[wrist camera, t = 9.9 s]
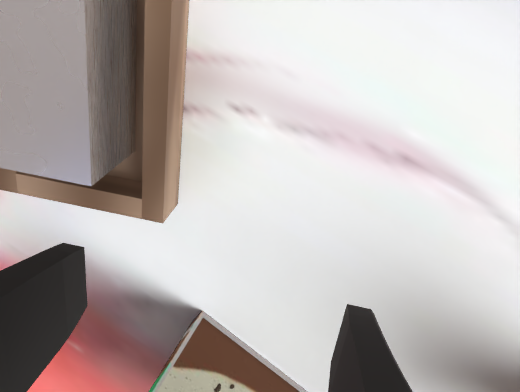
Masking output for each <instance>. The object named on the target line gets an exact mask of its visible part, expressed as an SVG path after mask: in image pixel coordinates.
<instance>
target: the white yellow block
mask: <svg viewBox="0 0 520 392" xmlns="http://www.w3.org/2000/svg"><path fill="white" fill-rule="evenodd" d="M136 29H137V0H0V168H4V169H9V170H14V171H18V172H23V173H28V174H33V175H38V176H43V177H48V178H52V179H57V180H62V181H67V182H72V183H77V184H82V185H87V186H92V185H94V184H95V183H96V182H97V181H99V180H100V179H101V178H102V177H104V176H105V175H106V174H107V173H109V172H110V171H111V170H112V169H114V168H115V167H116V166H117V165H119V164H120V163H121V162H122V161H123V160H125V159H126V158H127V157H128V156H130V155H131V154H132V153H133V152H135V119H136Z"/></svg>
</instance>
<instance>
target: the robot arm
mask: <svg viewBox="0 0 520 392" xmlns="http://www.w3.org/2000/svg"><path fill="white" fill-rule="evenodd" d="M86 307H87V292H86V273H85V254H84V247H80V246H75V245H71V244H66V243H62V244H59V245H57V246H54V247H52V248H49V249H47V250H45V251H43V252H40V253H38V254H36V255H34V256H32V257H30V258H27V259H25V260H23V261H21V262H19V263H17V264H14V265H12V266H10V267H8V268H5V269H3V270H1V271H0V392H27V391H28V389H29V388H30V387H31V386H32V384H33V383H34V382H35V380H36V379H37V378H38V377H39V375H40V374H41V373H42V372H43V370H44V369H45V368H46V366H47V365H48V364H49V363H50V361H51V360H52V359H53V357H54V356H55V355H56V354H57V352H58V351H59V350H60V348H61V347H62V346H63V344H64V343H65V342H66V340H67V339H68V338H69V336H70V335H71V333H72V331H73V330H74V328H75V326H76V325H77V323H78V321H79V320H80V318H81V316H82V314H83V313H84V311H85V309H86ZM328 392H412V390H411V388H410V387H409V385H408V383H407V381H406V379H405V378H404V376H403V374H402V372H401V370H400V368H399V366H398V364H397V363H396V361H395V359H394V357H393V355H392V353H391V351H390V349H389V346H388V344H387V342H386V340H385V338H384V336H383V334H382V331H381V329H380V327H379V325H378V322H377V320H376V318H375V315H374V313H373V312H372V310H371V309H367V308H362V307H358V306H353V305H349V304H347V307H346V310H345V314H344V317H343V321H342V324H341V328H340V332H339V335H338V339H337V342H336V346H335V350H334V353H333V357H332V360H331V368H330V379H329V390H328Z"/></svg>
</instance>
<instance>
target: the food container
mask: <svg viewBox="0 0 520 392" xmlns="http://www.w3.org/2000/svg"><path fill="white" fill-rule="evenodd" d="M149 392H307V391H306V390H305V389H303V388H302V387H301V386H299V385H298V384H297V383H296V382H294V381H293V380H292V379H290V378H289V377H288V376H286V375H285V374H284V373H283V372H281V371H280V370H279V369H277V368H276V367H275V366H274V365H272V364H271V363H270V362H268V361H267V360H266V359H264V358H263V357H262V356H261V355H259V354H258V353H257V352H255V351H254V350H253V349H251V348H250V347H249V346H248V345H246V344H245V343H244V342H242V341H241V340H240V339H238V338H237V337H236V336H235V335H233V334H232V333H231V332H229V331H228V330H227V329H225V328H224V327H223V326H222V325H220V324H219V323H218V322H216V321H215V320H214V319H212V318H211V317H210V316H209V315H207V314H206V313H205V312H203V311H201V313H200V314H199V315H198V316H197V317H196V318H195V319H194V321H193V322H192V323H191V325H190V326H189V328H188V329H187V331H186V333H185V334H184V336H183V337H182V339H181V341H180V342H179V344H178V345H177V347H176V349H175V350H174V352H173V354H172V355H171V357H170V358H169V360H168V362H167V363H166V365H165V366H164V368H163V370H162V371H161V373H160V374H159V376H158V378H157V379H156V381H155V382H154V384H153V386H152V387H151V389H150V391H149Z"/></svg>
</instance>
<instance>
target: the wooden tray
mask: <svg viewBox="0 0 520 392" xmlns="http://www.w3.org/2000/svg"><path fill="white" fill-rule="evenodd" d="M188 12H189V0H137V29H136V119H135V152H133V153H132V154H131V155H130V156H128V157H127V158H126V159H125V160H123V161H122V162H121V163H120V164H119V165H117V166H116V167H115V168H114V169H112V170H111V171H110V172H109V173H107V174H106V175H105V176H104V177H102V178H101V179H100V180H99V181H97V182H96V183H95V184H94V185H92V186H87V185H82V184H77V183H72V182H67V181H62V180H57V179H52V178H48V177H43V176H38V175H33V174H28V173H23V172H18V171H14V170H9V169H4V168H0V190H5V191H10V192H15V193H19V194H24V195H29V196H34V197H39V198H44V199H48V200H53V201H58V202H63V203H68V204H72V205H77V206H82V207H87V208H92V209H97V210H101V211H106V212H111V213H116V214H121V215H126V216H130V217H135V218H140V219H145V220H150V221H155V222H159V223H163V222H164V221H165V220H166V218H167V217H168V216H169V214H170V213H171V212H172V211H173V209H174V208H175V207H176V205H177V204H178V190H179V172H180V155H181V137H182V119H183V101H184V83H185V65H186V47H187V29H188Z"/></svg>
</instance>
